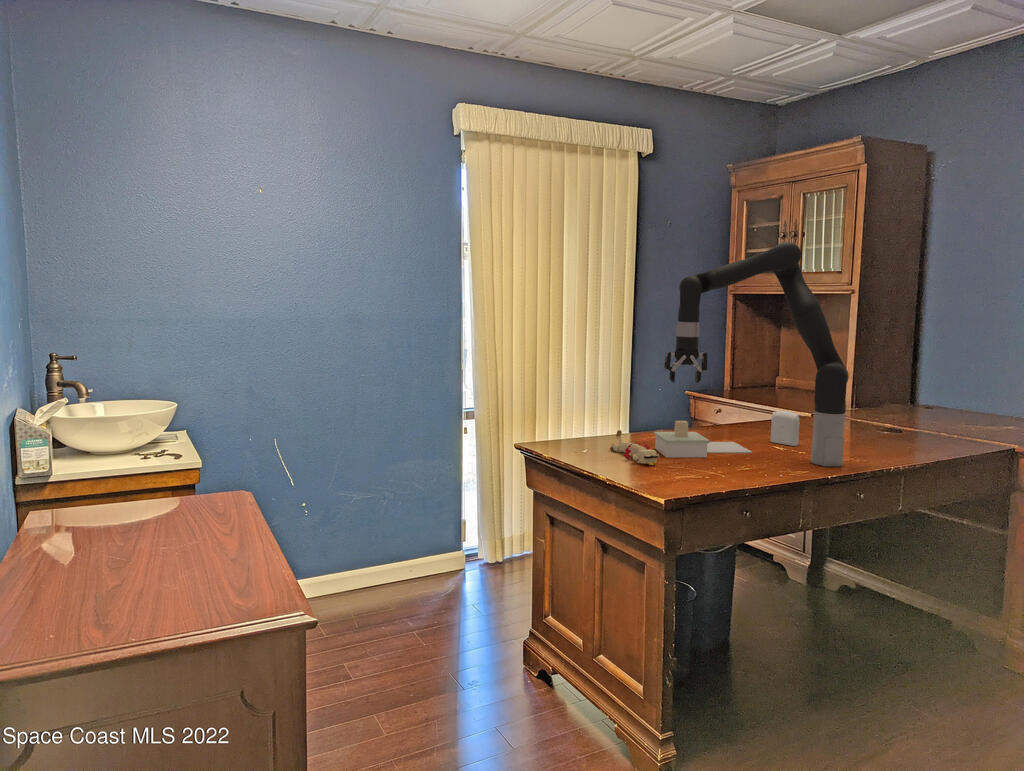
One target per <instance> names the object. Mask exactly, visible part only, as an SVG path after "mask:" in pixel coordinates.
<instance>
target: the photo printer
mask: <svg viewBox="0 0 1024 771" xmlns="http://www.w3.org/2000/svg"><path fill="white" fill-rule="evenodd" d="M799 433H800V416H799V414H797V413H794V412H793V411H789V410H788V411H787V410H777V411H773V412H772V415H771V424H770V443H772V444H773V443H774V444H780V445H787V446H790V447H791V446H793V447H798V445H799V437H800V434H799Z"/></svg>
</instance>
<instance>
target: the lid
mask: <svg viewBox="0 0 1024 771" xmlns="http://www.w3.org/2000/svg"><path fill="white" fill-rule="evenodd" d="M653 435H654V436H655V437H656V436H657V437H658V438H659V439H661V440H662V441H663V442H665V443H710V442H711V440H710V439H708V438H707V437H705V436H703V435H701V434H700V433H698V432H696V431H689V421H687V420H674V431H653Z"/></svg>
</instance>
